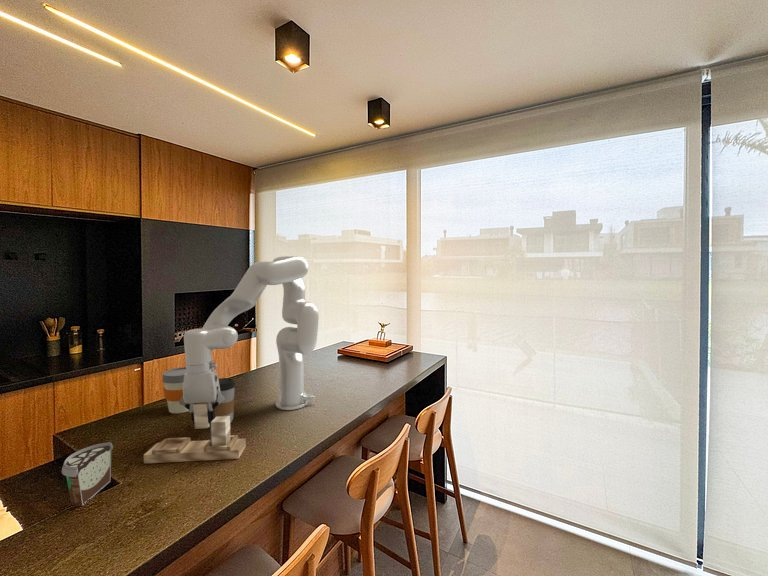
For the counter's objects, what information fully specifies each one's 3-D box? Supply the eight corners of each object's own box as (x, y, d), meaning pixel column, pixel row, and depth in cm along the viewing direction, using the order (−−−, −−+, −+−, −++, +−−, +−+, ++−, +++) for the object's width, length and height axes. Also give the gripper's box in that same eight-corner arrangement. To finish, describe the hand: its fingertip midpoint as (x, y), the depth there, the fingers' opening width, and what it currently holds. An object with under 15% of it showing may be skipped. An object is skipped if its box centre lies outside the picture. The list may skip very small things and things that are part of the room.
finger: (201, 422, 116) (199, 399, 115) (213, 421, 117) (211, 398, 116) (195, 428, 112) (193, 404, 111) (208, 427, 112) (206, 404, 111)
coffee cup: (241, 418, 128) (240, 378, 127) (223, 428, 120) (222, 386, 119) (223, 415, 131) (222, 376, 130) (205, 425, 123) (203, 383, 122)
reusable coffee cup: (183, 416, 130) (182, 377, 129) (155, 413, 132) (153, 375, 131) (207, 403, 142) (206, 367, 141) (180, 401, 144) (179, 365, 144)
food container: (89, 479, 91) (87, 442, 91) (114, 478, 92) (112, 441, 91) (48, 512, 79) (46, 469, 79) (77, 510, 80) (75, 468, 79)
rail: (245, 446, 108) (245, 413, 108) (238, 458, 101) (237, 423, 101) (157, 450, 106) (156, 416, 105) (143, 463, 99) (142, 427, 98)
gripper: (230, 362, 117) (234, 414, 118) (178, 365, 115) (182, 418, 117) (222, 369, 109) (226, 425, 111) (166, 372, 107) (171, 429, 109)
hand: (203, 421), depth 114 cm, fingers closed on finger, 4 cm apart
